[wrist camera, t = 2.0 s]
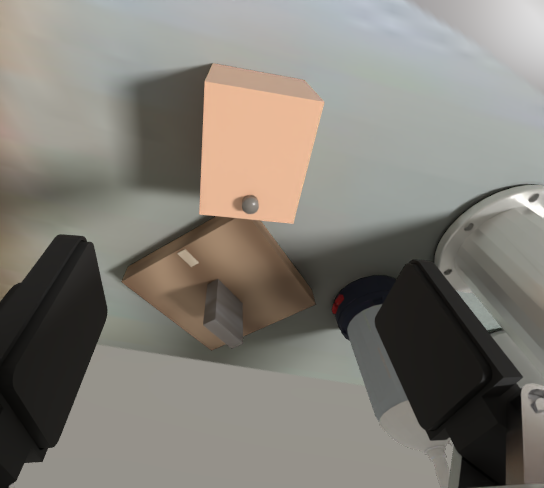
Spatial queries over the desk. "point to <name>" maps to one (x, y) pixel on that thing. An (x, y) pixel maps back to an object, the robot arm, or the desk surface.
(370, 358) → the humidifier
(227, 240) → the stand
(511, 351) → the can
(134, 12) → the desk surface
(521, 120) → the desk surface
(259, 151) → the light orange block
